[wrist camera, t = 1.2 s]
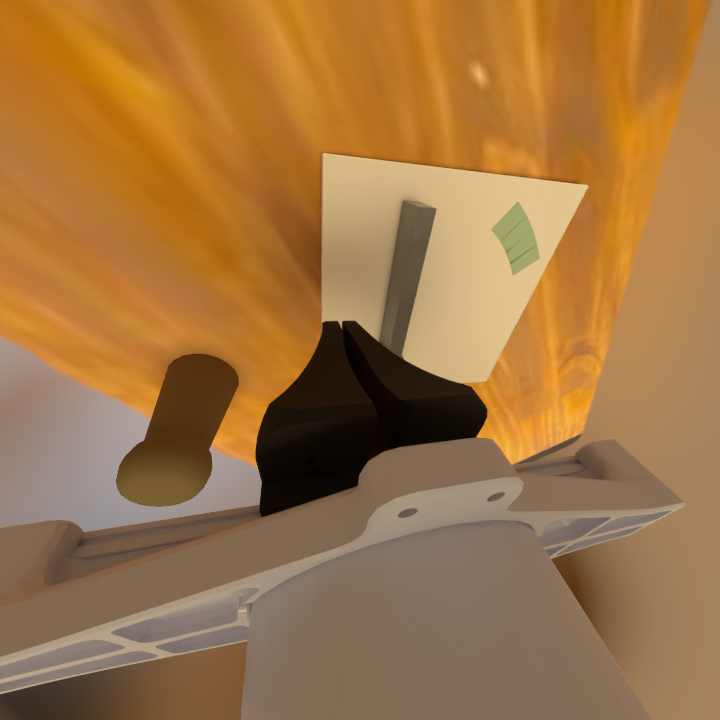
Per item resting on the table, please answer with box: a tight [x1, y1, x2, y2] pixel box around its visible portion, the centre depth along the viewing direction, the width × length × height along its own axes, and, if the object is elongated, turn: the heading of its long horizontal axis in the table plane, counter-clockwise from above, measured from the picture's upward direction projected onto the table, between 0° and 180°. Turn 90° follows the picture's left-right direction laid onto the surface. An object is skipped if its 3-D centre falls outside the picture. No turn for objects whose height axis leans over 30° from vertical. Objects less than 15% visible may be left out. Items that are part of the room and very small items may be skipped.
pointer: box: [379, 200, 437, 360], centre depth 21 cm, size 15×3×3 cm, turn 174°
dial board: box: [321, 153, 589, 383], centre depth 24 cm, size 20×20×1 cm
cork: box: [116, 354, 238, 507], centre depth 20 cm, size 6×6×11 cm
